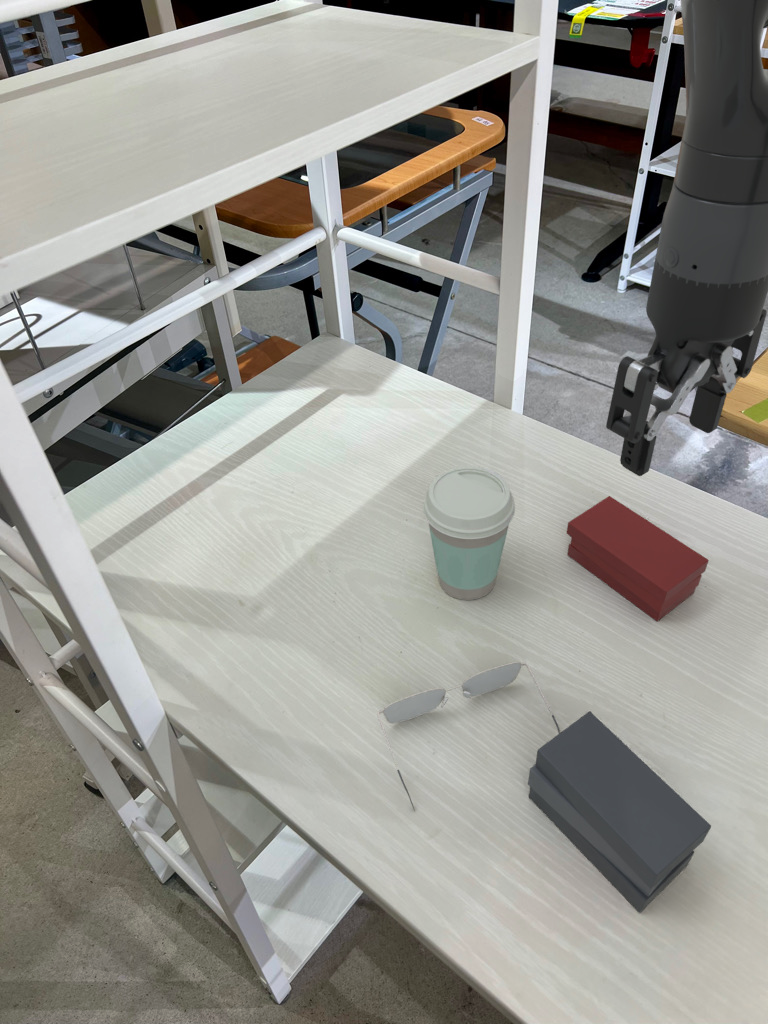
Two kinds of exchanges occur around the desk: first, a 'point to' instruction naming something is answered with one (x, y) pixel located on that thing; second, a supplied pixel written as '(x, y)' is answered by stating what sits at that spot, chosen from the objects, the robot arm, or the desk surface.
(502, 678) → the eyeglasses
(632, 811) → the grey books
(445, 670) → the desk surface
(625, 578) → the oxblood books
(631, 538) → the thin oxblood book
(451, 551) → the coffee cup
